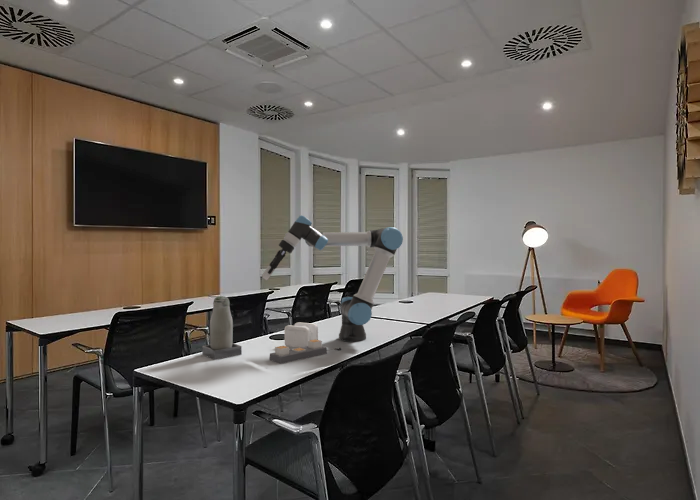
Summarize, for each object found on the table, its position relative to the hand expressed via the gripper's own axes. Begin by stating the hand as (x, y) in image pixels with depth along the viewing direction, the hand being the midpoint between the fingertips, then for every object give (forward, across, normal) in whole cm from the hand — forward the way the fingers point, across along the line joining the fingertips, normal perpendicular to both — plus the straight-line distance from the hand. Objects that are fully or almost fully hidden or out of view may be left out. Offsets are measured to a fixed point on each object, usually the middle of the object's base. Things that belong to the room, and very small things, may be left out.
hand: (264, 278), depth 212 cm
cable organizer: (+19, -1, +36) cm, 41 cm away
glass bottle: (+41, +3, +5) cm, 42 cm away
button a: (+13, +18, +37) cm, 43 cm away
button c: (+22, +26, +24) cm, 42 cm away
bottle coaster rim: (+41, +3, +4) cm, 41 cm away
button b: (+20, +22, +32) cm, 44 cm away
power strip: (+17, +19, +37) cm, 45 cm away
